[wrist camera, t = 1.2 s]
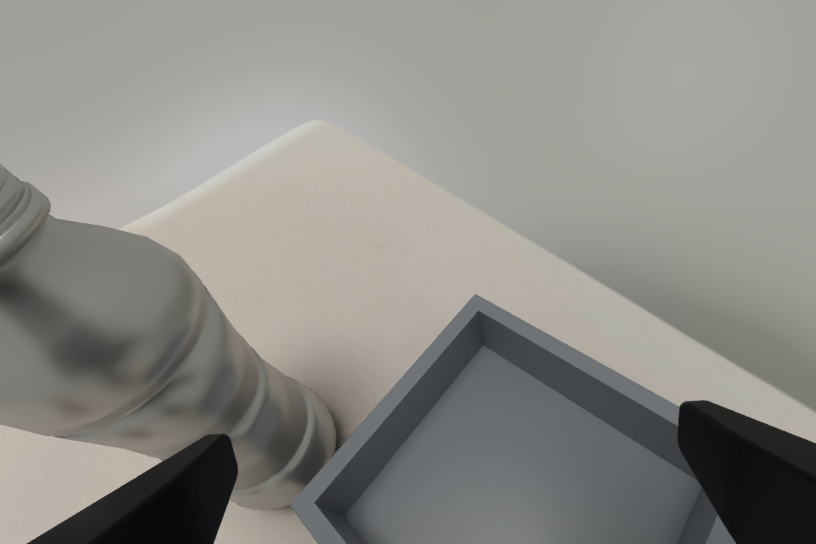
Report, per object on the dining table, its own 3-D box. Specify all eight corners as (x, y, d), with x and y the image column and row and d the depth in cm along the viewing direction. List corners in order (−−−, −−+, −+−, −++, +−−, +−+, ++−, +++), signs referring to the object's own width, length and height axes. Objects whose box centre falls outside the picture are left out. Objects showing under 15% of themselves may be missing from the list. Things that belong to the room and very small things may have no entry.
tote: (575, 833, 13) (595, 916, 10) (327, 520, 21) (289, 505, 17) (725, 484, 18) (773, 458, 15) (480, 334, 25) (475, 294, 22)
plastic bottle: (274, 389, 26) (-56, 108, 11) (364, 413, 24) (100, 97, 9) (219, 495, 23) (-381, 291, 7) (319, 536, 20) (-264, 357, 5)
